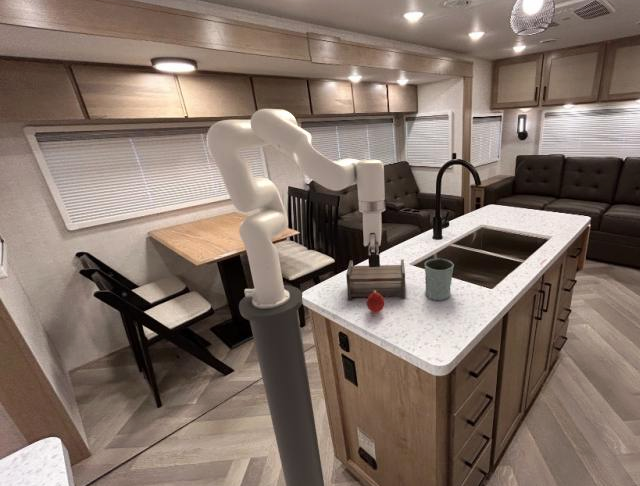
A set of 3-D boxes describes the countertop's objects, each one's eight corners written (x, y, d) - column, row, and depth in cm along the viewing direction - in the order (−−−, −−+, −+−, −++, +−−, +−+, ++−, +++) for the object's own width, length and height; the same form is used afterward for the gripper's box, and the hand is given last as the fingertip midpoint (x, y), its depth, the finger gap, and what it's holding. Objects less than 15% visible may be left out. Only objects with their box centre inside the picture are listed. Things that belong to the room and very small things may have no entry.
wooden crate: (348, 300, 112) (346, 274, 108) (351, 284, 123) (349, 260, 119) (405, 298, 113) (405, 273, 109) (403, 283, 124) (403, 259, 120)
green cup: (424, 301, 111) (425, 270, 107) (422, 287, 121) (423, 257, 116) (453, 301, 111) (455, 270, 106) (449, 287, 120) (451, 257, 116)
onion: (388, 312, 105) (388, 291, 102) (375, 319, 101) (374, 297, 98) (376, 305, 109) (376, 284, 106) (363, 312, 105) (362, 291, 102)
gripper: (360, 198, 99) (364, 249, 106) (356, 213, 83) (360, 272, 90) (385, 197, 99) (387, 249, 106) (385, 212, 83) (387, 272, 90)
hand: (374, 259), depth 98 cm, fingers open, 9 cm apart
